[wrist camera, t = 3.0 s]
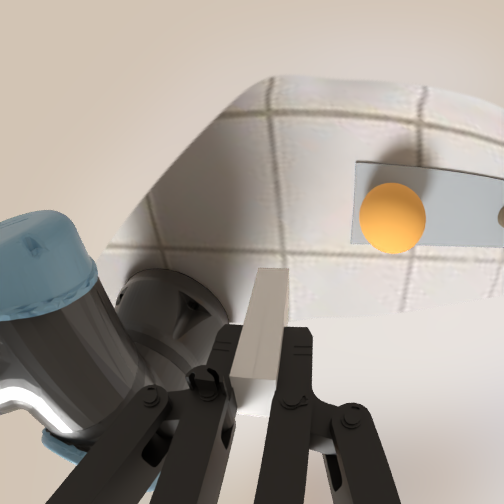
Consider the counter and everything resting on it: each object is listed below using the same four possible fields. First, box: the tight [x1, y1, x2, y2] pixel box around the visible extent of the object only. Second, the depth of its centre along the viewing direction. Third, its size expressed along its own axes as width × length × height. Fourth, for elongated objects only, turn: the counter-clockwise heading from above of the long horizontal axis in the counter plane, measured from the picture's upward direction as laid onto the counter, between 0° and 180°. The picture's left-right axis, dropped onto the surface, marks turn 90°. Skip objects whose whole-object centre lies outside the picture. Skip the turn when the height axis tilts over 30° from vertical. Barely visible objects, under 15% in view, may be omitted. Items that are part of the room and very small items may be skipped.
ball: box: [359, 183, 426, 254], centre depth 22 cm, size 6×6×6 cm
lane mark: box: [351, 163, 504, 248], centre depth 22 cm, size 28×8×1 cm, turn 94°
